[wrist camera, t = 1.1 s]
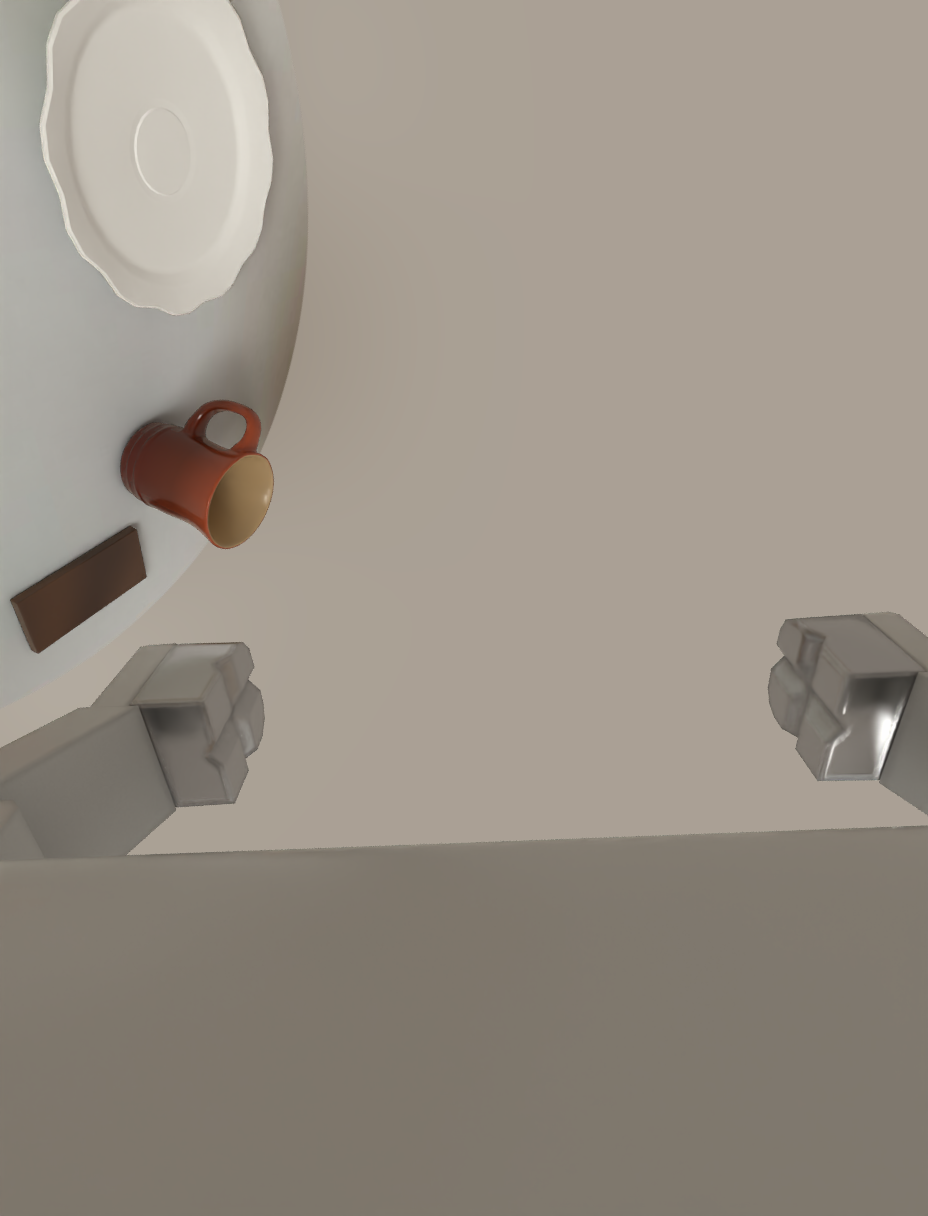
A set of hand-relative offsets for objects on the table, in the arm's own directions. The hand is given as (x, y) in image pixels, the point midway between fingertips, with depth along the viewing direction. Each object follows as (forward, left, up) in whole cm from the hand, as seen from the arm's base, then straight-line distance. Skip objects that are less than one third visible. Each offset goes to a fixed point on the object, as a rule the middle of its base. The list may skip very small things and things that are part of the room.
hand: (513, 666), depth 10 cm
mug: (+30, -26, -41) cm, 57 cm away
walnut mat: (+20, -36, -40) cm, 58 cm away
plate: (+35, -5, -41) cm, 54 cm away
